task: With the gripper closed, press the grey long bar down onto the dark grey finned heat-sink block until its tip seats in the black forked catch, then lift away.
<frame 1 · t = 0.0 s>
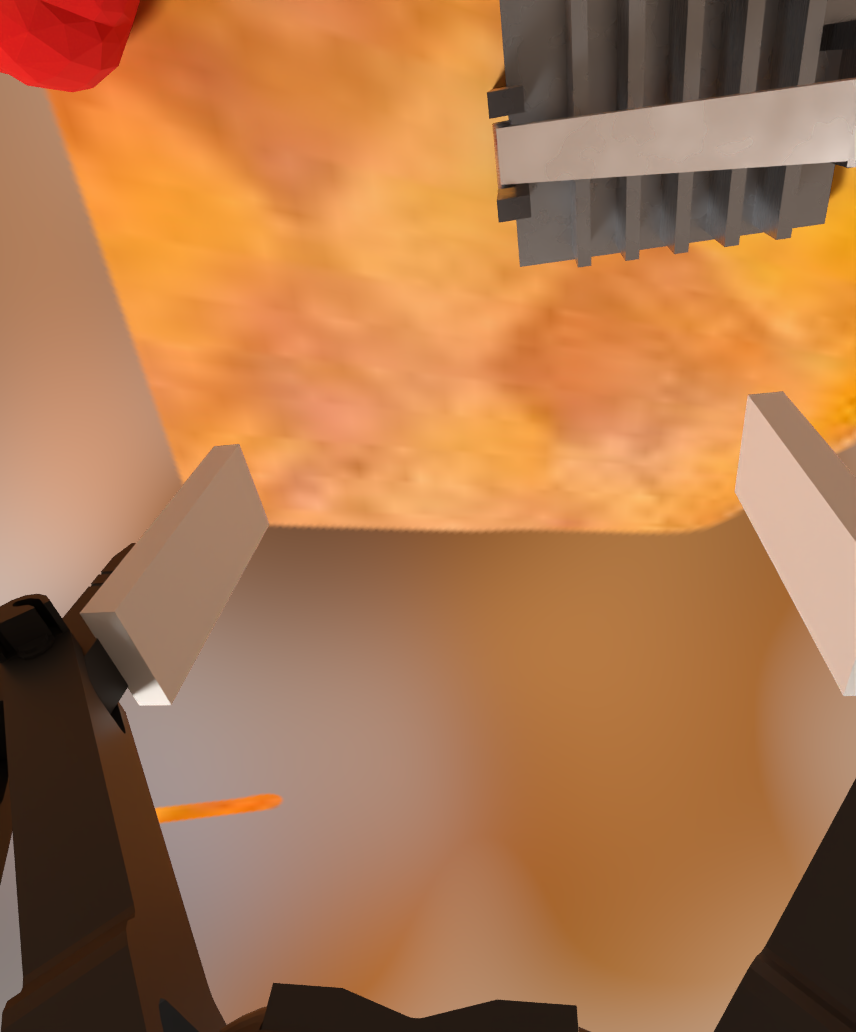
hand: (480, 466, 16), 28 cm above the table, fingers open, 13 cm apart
grey long bar: (650, 142, 25), point 12 cm above the table, hinge at 35.0°
heatsink: (664, 114, 34), on the table
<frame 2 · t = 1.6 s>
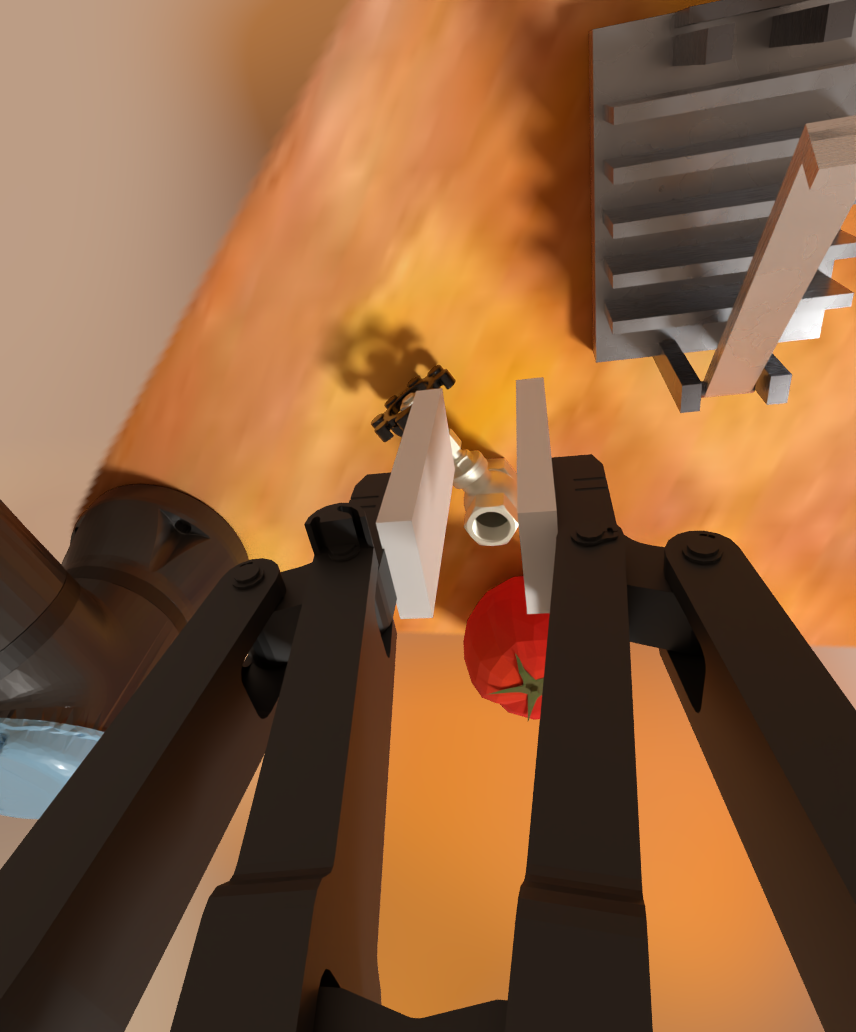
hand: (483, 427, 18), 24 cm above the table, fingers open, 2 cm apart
grey long bar: (771, 305, 27), point 12 cm above the table, hinge at 35.0°
tomato: (532, 601, 55), on the table
valve: (464, 438, 46), on the table
heatsink: (708, 194, 35), on the table
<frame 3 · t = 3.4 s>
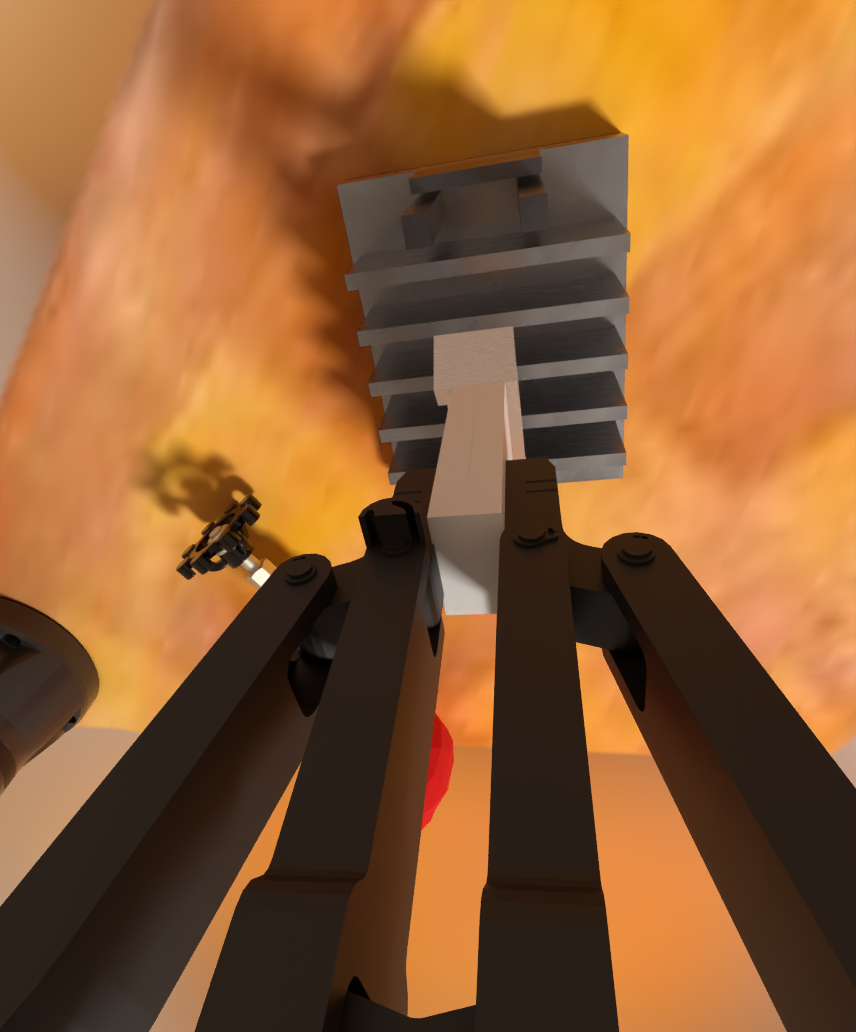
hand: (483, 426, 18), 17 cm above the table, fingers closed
grey long bar: (497, 483, 26), point 12 cm above the table, hinge at 31.6°, touching gripper
tomato: (390, 709, 53), on the table
valve: (295, 558, 45), on the table
heatsink: (495, 335, 34), on the table
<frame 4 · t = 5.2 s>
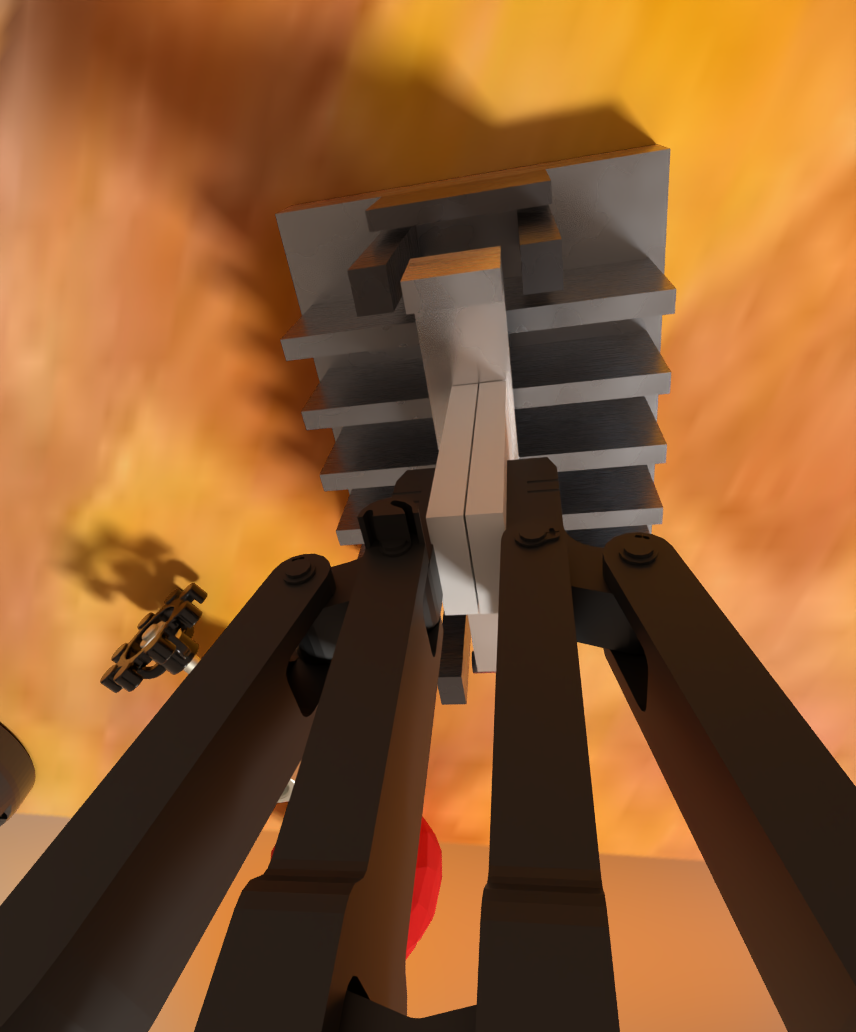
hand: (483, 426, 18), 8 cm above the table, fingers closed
grey long bar: (486, 520, 20), point 8 cm above the table, hinge at 3.0°, touching gripper
tomato: (369, 804, 46), on the table
valve: (254, 649, 38), on the table
heatsink: (489, 399, 27), on the table
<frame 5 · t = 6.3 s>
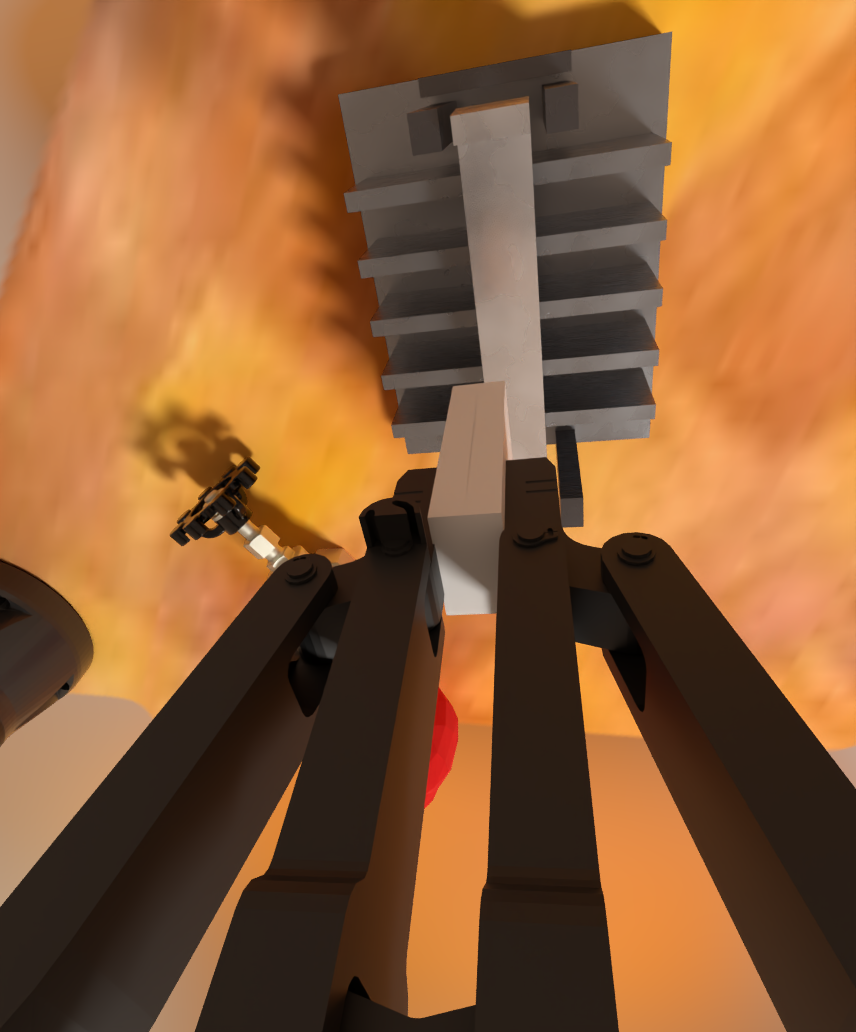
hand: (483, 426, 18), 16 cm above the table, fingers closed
grey long bar: (510, 350, 25), point 8 cm above the table, hinge at 2.9°
tomato: (393, 684, 51), on the table
valve: (297, 527, 42), on the table
heatsink: (513, 275, 31), on the table
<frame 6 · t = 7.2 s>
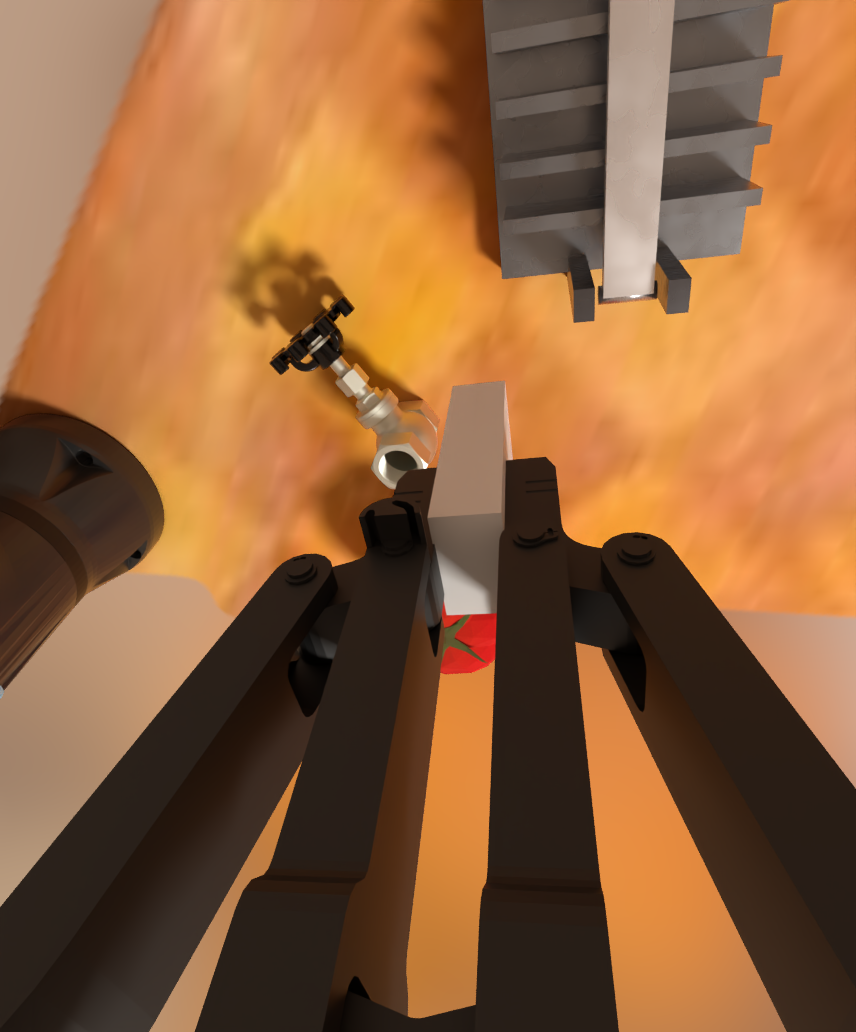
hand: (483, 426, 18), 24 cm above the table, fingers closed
grey long bar: (637, 113, 26), point 8 cm above the table, hinge at 2.9°
tomato: (457, 554, 52), on the table
valve: (380, 378, 44), on the table
heatsink: (617, 86, 32), on the table
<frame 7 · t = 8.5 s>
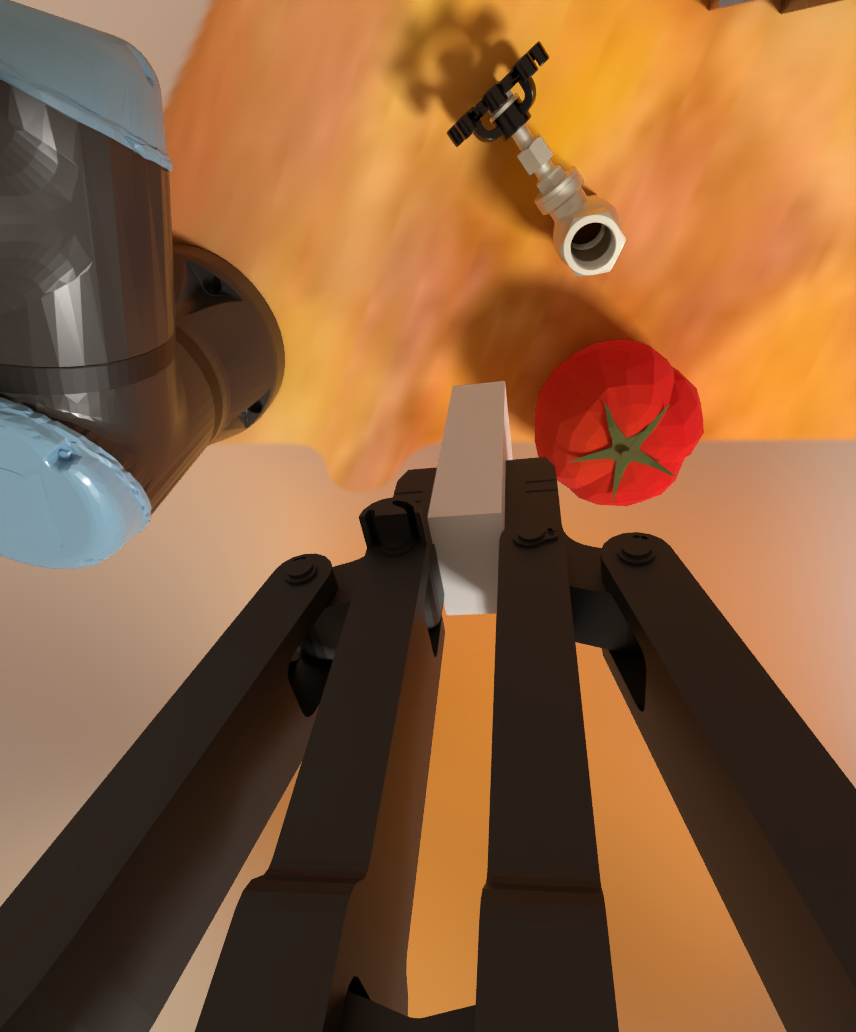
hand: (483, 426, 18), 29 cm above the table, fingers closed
tomato: (606, 392, 48), on the table
valve: (548, 172, 40), on the table
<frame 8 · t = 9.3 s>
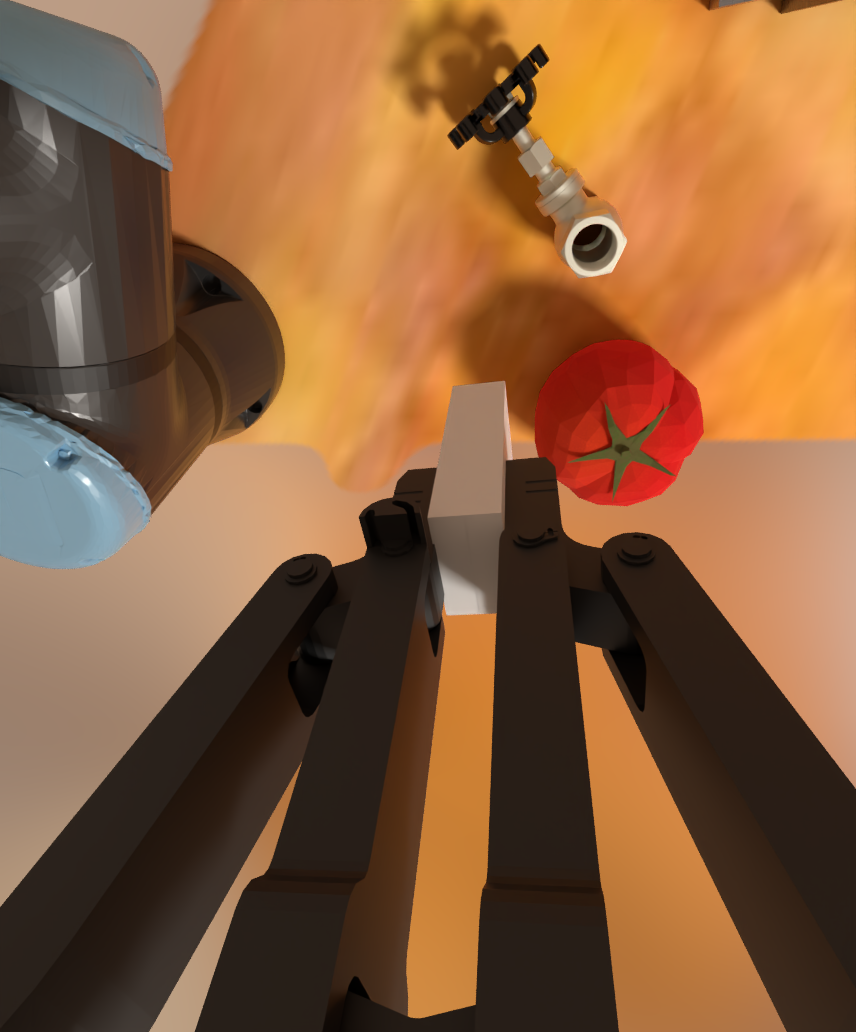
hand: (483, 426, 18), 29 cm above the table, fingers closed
tomato: (606, 392, 48), on the table
valve: (549, 174, 40), on the table
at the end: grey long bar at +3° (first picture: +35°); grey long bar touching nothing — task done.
